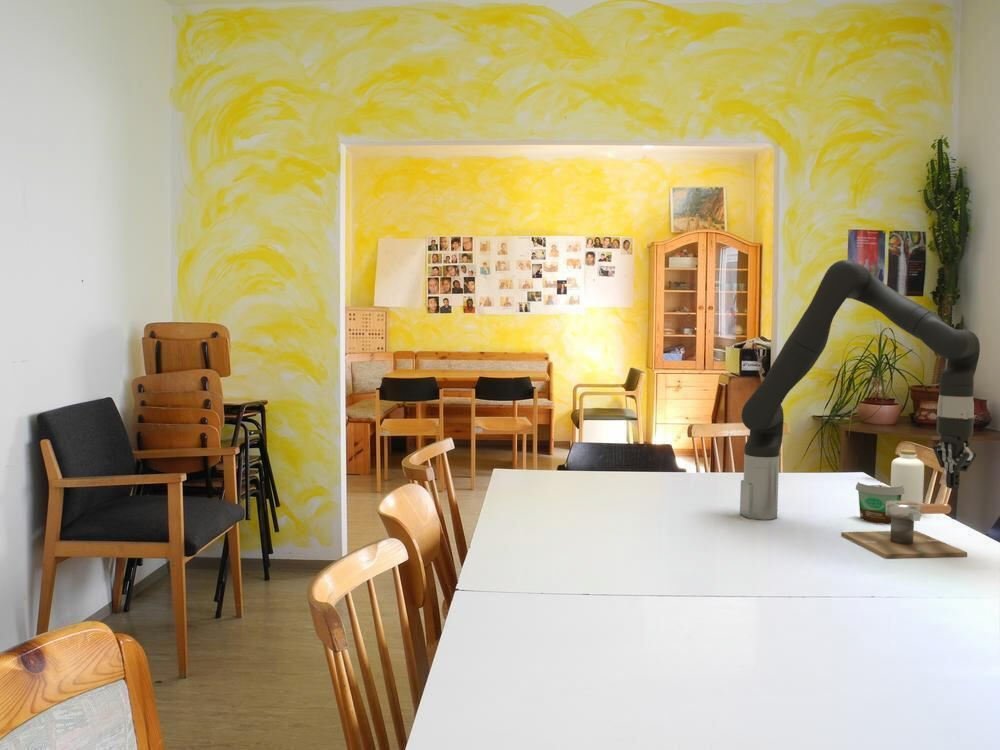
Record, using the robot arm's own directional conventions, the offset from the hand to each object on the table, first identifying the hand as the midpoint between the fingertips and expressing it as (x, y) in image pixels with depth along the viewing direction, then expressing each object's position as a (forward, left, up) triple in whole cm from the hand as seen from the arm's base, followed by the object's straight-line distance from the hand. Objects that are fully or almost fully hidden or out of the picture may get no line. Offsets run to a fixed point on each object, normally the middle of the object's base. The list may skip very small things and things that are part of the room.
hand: (952, 488), depth 198 cm
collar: (-4, +6, -8) cm, 11 cm away
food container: (0, +30, -16) cm, 34 cm away
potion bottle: (+13, +38, -16) cm, 43 cm away
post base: (-8, +6, -15) cm, 18 cm away
